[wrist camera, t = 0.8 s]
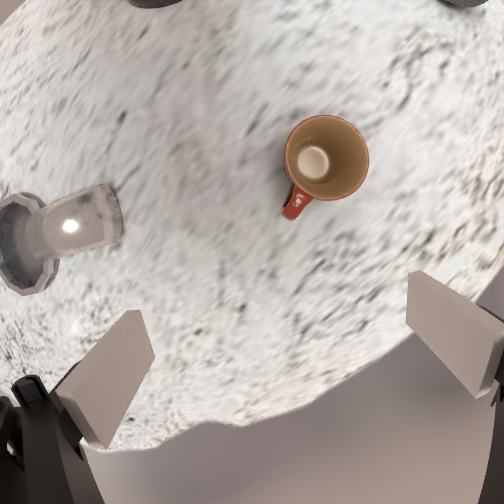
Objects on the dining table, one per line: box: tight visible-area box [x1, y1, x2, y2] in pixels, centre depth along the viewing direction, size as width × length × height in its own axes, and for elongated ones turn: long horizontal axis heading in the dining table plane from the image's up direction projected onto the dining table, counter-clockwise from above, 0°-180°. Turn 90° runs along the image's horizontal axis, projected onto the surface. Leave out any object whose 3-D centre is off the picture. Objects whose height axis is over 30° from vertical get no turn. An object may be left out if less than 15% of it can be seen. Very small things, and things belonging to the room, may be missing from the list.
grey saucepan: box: [0, 184, 122, 296], centre depth 35 cm, size 31×18×8 cm, turn 102°
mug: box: [280, 115, 369, 221], centre depth 32 cm, size 12×9×10 cm
